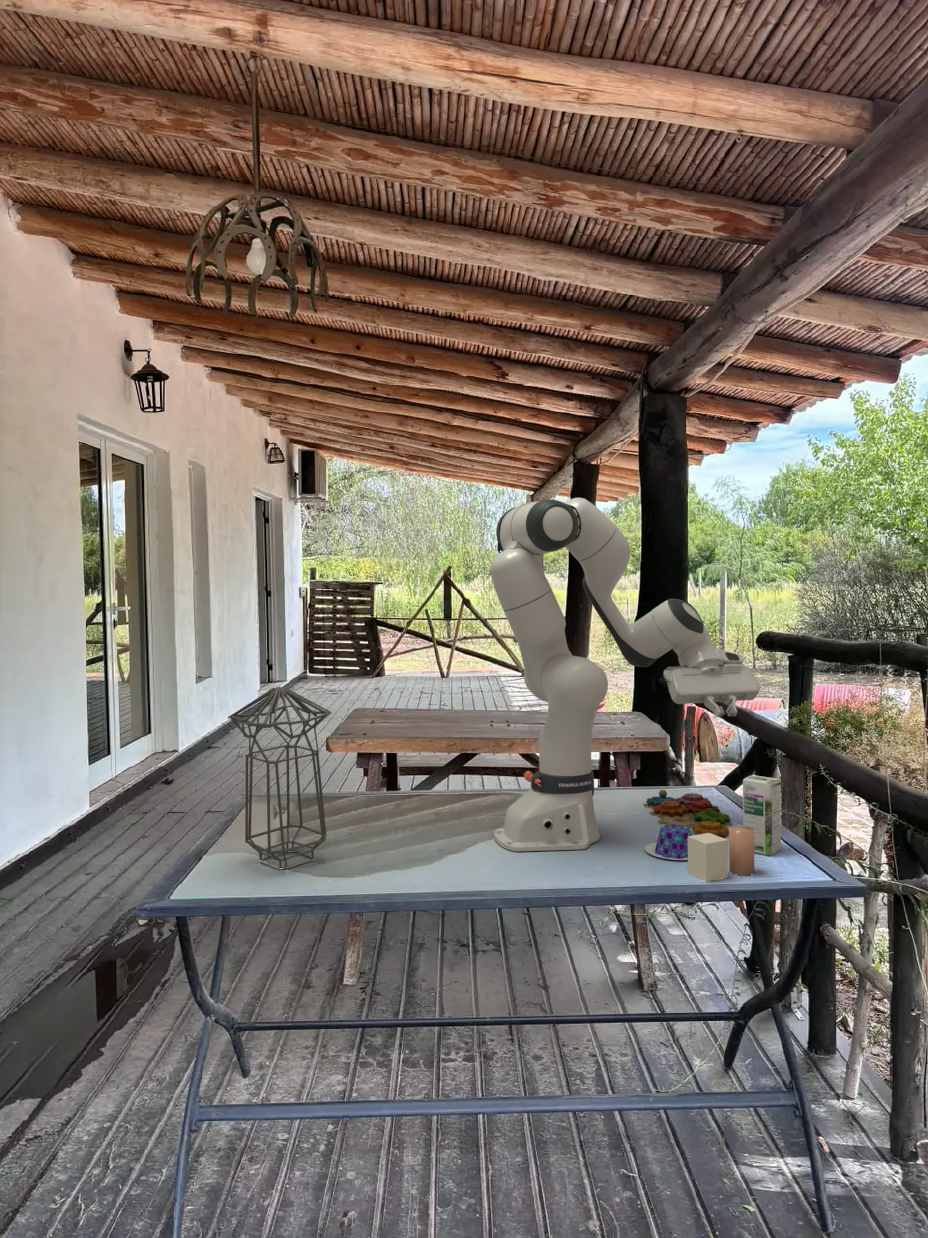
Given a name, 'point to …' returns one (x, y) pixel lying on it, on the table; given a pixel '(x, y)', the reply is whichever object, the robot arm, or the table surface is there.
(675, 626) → the robot arm
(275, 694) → the geometric lantern
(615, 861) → the table surface
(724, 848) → the cream block
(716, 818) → the gear puzzle
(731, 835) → the terracotta cylinder
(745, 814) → the syrup box
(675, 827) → the pudding
